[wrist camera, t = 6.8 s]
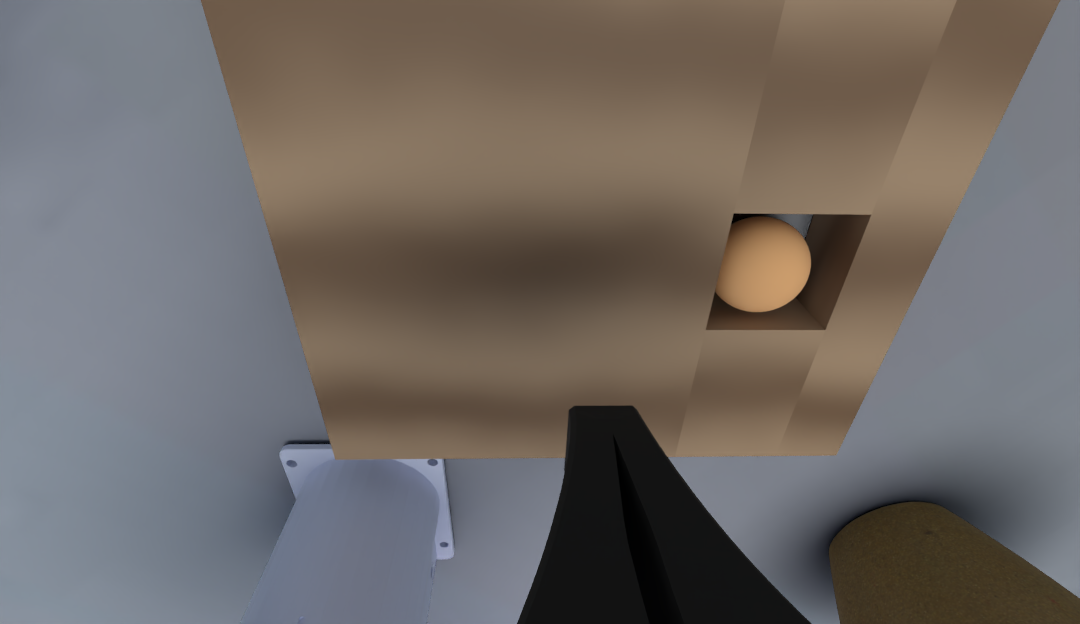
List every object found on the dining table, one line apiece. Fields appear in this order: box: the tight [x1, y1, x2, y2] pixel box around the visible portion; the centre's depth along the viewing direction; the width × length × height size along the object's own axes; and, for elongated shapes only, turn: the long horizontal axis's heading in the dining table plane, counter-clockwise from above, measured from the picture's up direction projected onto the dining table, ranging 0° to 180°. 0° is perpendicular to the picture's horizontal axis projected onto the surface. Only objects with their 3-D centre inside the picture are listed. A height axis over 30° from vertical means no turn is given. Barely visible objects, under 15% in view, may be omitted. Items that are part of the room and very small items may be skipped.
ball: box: [715, 216, 811, 312], centre depth 18 cm, size 4×4×4 cm
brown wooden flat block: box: [201, 0, 1060, 460], centre depth 18 cm, size 18×22×3 cm
